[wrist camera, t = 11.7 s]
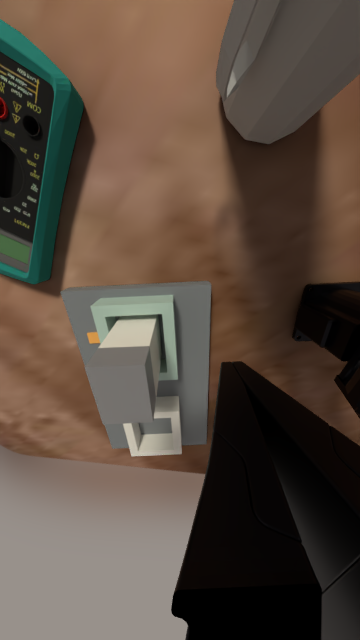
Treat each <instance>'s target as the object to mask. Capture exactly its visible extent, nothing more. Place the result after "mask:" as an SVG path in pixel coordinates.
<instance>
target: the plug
mask: <svg viewBox="0 0 360 640" xmlns="http://www.w3.org/2000/svg"><path fill="white" fill-rule="evenodd" d="M161 356H162V352H161V341H160V331H159V320H158V314H152V315H131V316H120V318H119V319H118V321H117V322H116V323H115V325H114V326H113V328H112V329H111V331H110V332H109V333H108V335H107V336H106V338H105V339H104V340H103V342H102V343H101V345H100V346H99V348H98V349H97V350H96V352H95V353H94V355H93V356H92V358H91V359H90V360H89V362H88V363H87V365H86V366H85V370H86V373H87V376H88V380H89V383H90V386H91V389H92V392H93V395H94V398H95V401H96V404H97V407H98V410H99V413H100V416H101V420H102V423H103V424H126V423H151V422H153V420H154V412H155V404H156V396H157V388H158V380H159V372H160V364H161Z"/></svg>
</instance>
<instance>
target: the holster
mask: <svg viewBox="0 0 360 640" xmlns="http://www.w3.org/2000/svg"><path fill="white" fill-rule="evenodd" d="M154 418H171V425H172V433H167V434H145V435H141V432H140V427H139V423H126V424H123V426H124V430H125V433H126V437H127V441H128V445H129V448H130V452H131V456H149V455H172V454H182V440H181V423H180V407H179V396H165V397H156V404H155V412H154Z"/></svg>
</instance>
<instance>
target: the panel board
mask: <svg viewBox="0 0 360 640" xmlns="http://www.w3.org/2000/svg"><path fill="white" fill-rule="evenodd" d="M61 295H62V298H63V301H64V304H65V307H66V310H67V313H68V316H69V319H70V322H71V325H72V328H73V331H74V334H75V337H76V340H77V343H78V346H79V349H80V352H81V355H82V358H83V361H84V364H85V366H86V365H87V363H88V362H89V360H90V359H91V358H92V356H93V355H94V353H95V352H96V350H97V349H98V348H99V346H100V345H101V344H100V340H99V337H98V333H97V329H96V325H95V322H94V318H93V314H92V311H91V307H90V306H91V305H93V304H94V303H95V302H96V301H98V300H99V299H100V298H115V297H136V296H157V295H173V297H174V313H175V329H176V346H177V362H178V380H161V381H158V388H157V396H156V397H165V396H179V407H180V423H181V440H182V445H202V444H207V410H208V376H209V342H210V308H211V284H210V282H209V281H197V282H176V283H155V284H134V285H113V286H92V287H71V288H67V289H65V290H63V291H61ZM119 318H120V316H115V319H116V322H117V321H118V319H119ZM158 320H159V331H160V341H161V352H162V356H161V359H166V352H165V341H164V330H163V319H162V314H158ZM104 425H105V428H106V431H107V434H108V437H109V440H110V443H111V446H112V449H113V448H129V445H128V441H127V437H126V433H125V430H124V426H123V424H104ZM139 427H140V432H141V435H145V434H167V433H172V425H171V418H154V420H153V422H151V423H139Z"/></svg>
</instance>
